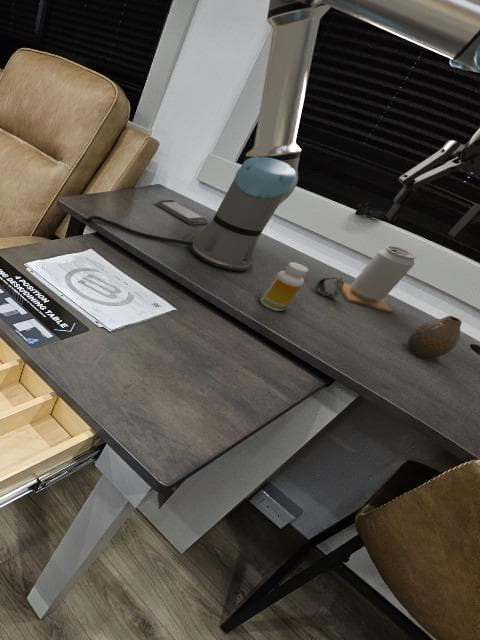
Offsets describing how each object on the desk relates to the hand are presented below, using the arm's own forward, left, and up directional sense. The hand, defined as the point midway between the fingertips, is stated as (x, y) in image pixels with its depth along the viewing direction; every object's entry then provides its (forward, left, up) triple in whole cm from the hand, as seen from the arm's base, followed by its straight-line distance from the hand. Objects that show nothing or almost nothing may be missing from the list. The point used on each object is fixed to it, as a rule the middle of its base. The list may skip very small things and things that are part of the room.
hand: (420, 227), depth 102 cm
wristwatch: (-11, -5, -19) cm, 22 cm away
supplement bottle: (-26, -20, -19) cm, 37 cm away
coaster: (0, 0, -18) cm, 18 cm away
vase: (+5, -23, -19) cm, 30 cm away
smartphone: (-45, +27, -18) cm, 55 cm away
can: (0, 0, -18) cm, 18 cm away
